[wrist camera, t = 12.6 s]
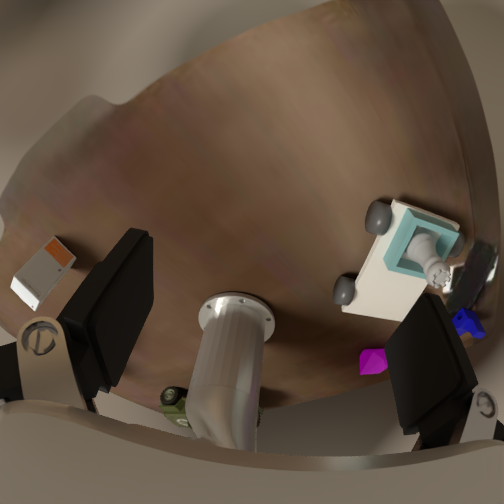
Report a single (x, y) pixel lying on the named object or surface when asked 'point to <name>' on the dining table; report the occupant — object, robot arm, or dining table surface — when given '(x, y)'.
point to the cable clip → (468, 323)
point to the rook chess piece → (428, 257)
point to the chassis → (394, 261)
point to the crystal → (372, 361)
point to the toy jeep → (181, 407)
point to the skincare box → (42, 273)
